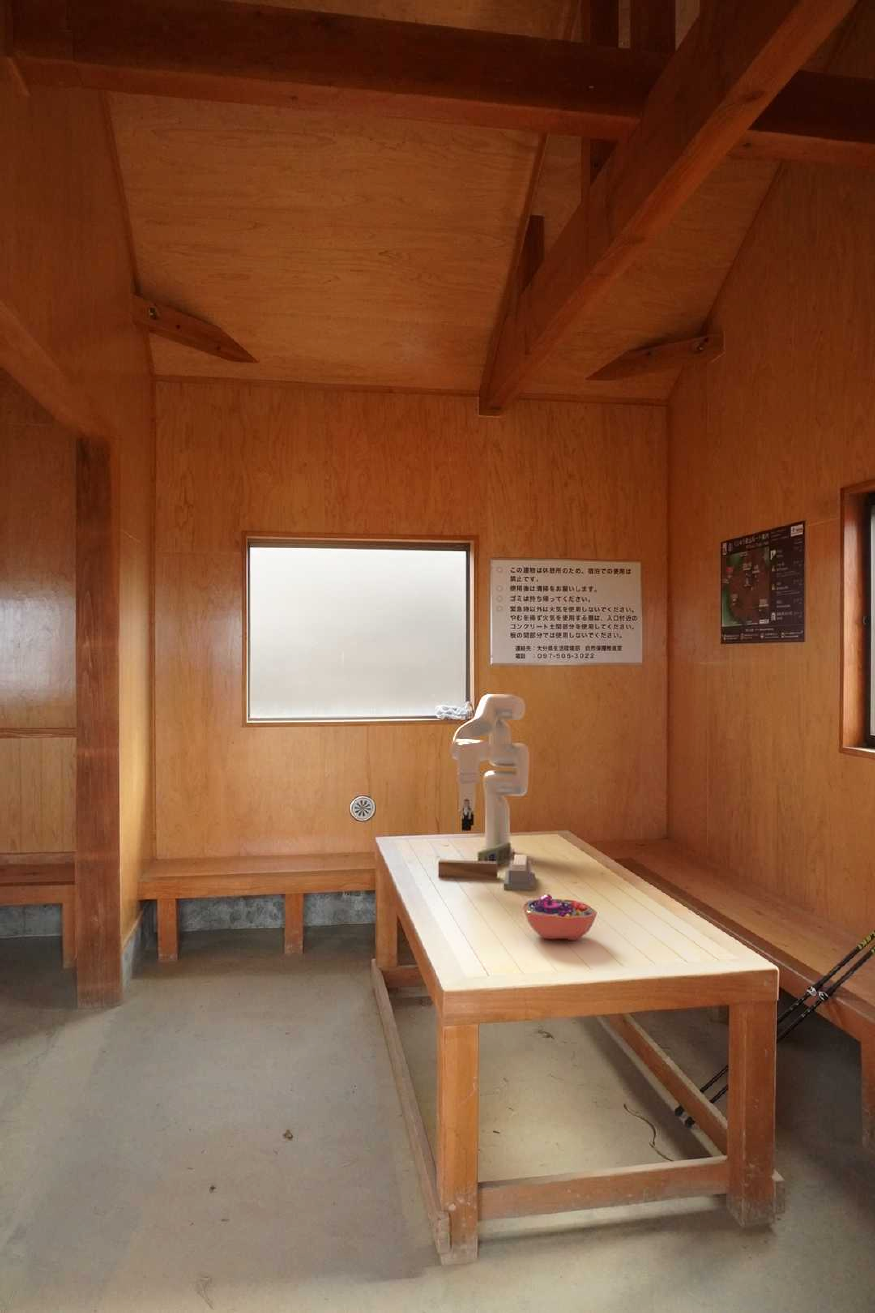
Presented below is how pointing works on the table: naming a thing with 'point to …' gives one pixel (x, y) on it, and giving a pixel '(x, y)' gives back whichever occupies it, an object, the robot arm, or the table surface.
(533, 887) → the ridge stand
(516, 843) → the table surface
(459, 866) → the walnut bar
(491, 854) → the handheld radio
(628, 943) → the table surface
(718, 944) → the table surface
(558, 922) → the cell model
